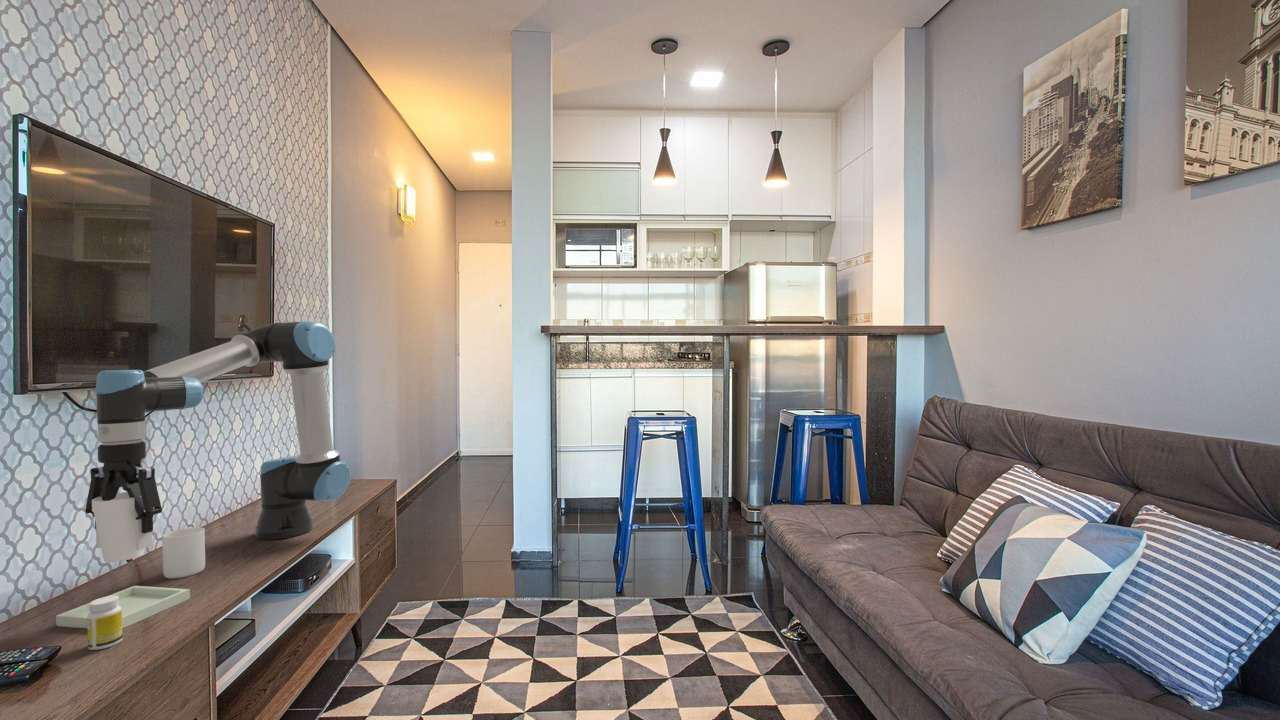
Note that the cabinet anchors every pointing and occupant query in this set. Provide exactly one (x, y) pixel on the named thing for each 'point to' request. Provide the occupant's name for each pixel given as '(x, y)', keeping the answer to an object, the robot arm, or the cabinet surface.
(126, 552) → the foam cup
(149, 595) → the tray
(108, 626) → the supplement bottle
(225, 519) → the cabinet surface
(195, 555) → the white oval container
